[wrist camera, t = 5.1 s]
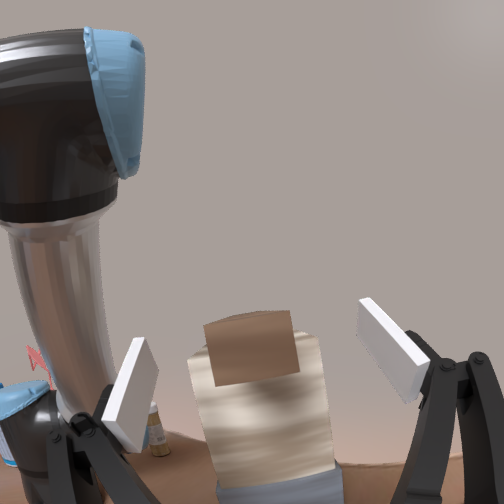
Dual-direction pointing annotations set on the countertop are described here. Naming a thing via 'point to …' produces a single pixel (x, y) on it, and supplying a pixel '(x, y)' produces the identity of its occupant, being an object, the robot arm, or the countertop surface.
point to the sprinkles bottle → (156, 433)
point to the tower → (270, 433)
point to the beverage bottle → (6, 448)
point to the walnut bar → (251, 347)
